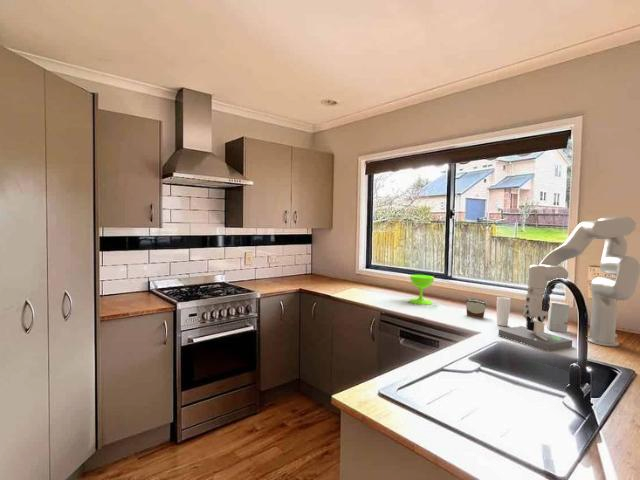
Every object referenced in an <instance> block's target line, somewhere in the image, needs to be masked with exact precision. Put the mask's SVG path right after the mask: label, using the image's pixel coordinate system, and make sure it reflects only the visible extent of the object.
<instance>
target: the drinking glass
mask: <svg viewBox="0 0 640 480" xmlns="http://www.w3.org/2000/svg"><path fill="white" fill-rule="evenodd" d="M511 301H512V299H511V298H510V297H506V296H505V297H504V296H497V297H496V324H497V326H499V327H508V324H509V318H510V312H511Z"/></svg>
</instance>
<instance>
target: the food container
mask: <svg viewBox="0 0 640 480" xmlns="http://www.w3.org/2000/svg"><path fill="white" fill-rule="evenodd" d="M464 302H465V304H466V307H465V308H466V316H468V317H472V318H478V319H484V318H485V312H486V311H485V310H486V307H487V306H488V303H487V301H486V300H484V299H480V298H468V297H467V298H465V300H464Z"/></svg>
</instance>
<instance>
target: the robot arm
mask: <svg viewBox="0 0 640 480" xmlns="http://www.w3.org/2000/svg"><path fill="white" fill-rule="evenodd" d="M636 229H637V222H636V220H634V219H633V218H632V217H629V216H604V217H600V218H598V219H597V220H583V221H582V222H580V223H578V224H577V226H576V227H575V228H574V230H573V231H572V232H571V234H570V235H569V236H568V237H567V239H566V240H565V242H564V243H563V244H561V245H560V246H559V247H556V248H555V249H554V250H552V251H551V252H549V253H548V254H547V255H545V256H544V258H543V259H542V260H541V262H540V263H539V264H530V266H529V269H528V283H527V289H526V291H527V293H526V295H525V300H524V307H523V312H522V314H521V315H522V317H523V318H524V319H525V322H526V321H527V329H528V330H531V331H533V330H534V322H533V319H535V317H536V320H538V321H540V322H543V323H544V322H545V319H546V318H548V312H549V311H548V312H543V311H542V310H541V306H542V298H543V295H544V291H545V288H546V286H547V287H548V282H552V281H551V280H553V279H556V278H564V279H566V280H567V279H568V277H569V272H568V270H567V269H566V268H565V267H563V266H560V264H561V263H563V262H565V261H568V260H569V259H570V260H571V259H574V258H576V257H579V256H581V255H582V254H583V253H584V252H585V251H586V249H587V248H588V247H589V245H590V244H591V243H592V242H593V240H603V242H604V246H603V250H602V254H601V258H600V261H599V262H600V263H599V269H600V271H601V272H602V273H604V274H608V275H611V276H597V277H595V278H593V279H592V280H591V283H590V293H591V312H590V326H589V335H587V336H588V341H587V342H589V343H592V344H595V345H598V346H605V347H619V342H618V341H616V340H615V339H616V338H617V337H618V334H617V333H616V327H617V315H618V313H617V312H618V305H617V301H616V300H618V301H622V302H623V301H629V300H630V299H631V298H633V296H634V295H635V292H636V289H637V286H638V282H639V279H640V261H639V260H638V259H637V258H636V257H633V256H630V255H627V252H628V251H627V250H628V241H627V239H626V236H629V235H631V234H633V233H634V231H635V230H636ZM612 275H613V276H615V277H612Z"/></svg>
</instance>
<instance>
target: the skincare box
mask: <svg viewBox="0 0 640 480" xmlns="http://www.w3.org/2000/svg"><path fill="white" fill-rule="evenodd" d="M569 312H570V304H569V303H567V302H566V303H565V302H560V301H553V300H552V301H550V308H549V310H548V316H547V323H546V328H547V329H548V331H553V332H561V333H567V332H568V326H569V325H568V324H569V323H568V322H569V314H570V313H569Z"/></svg>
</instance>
